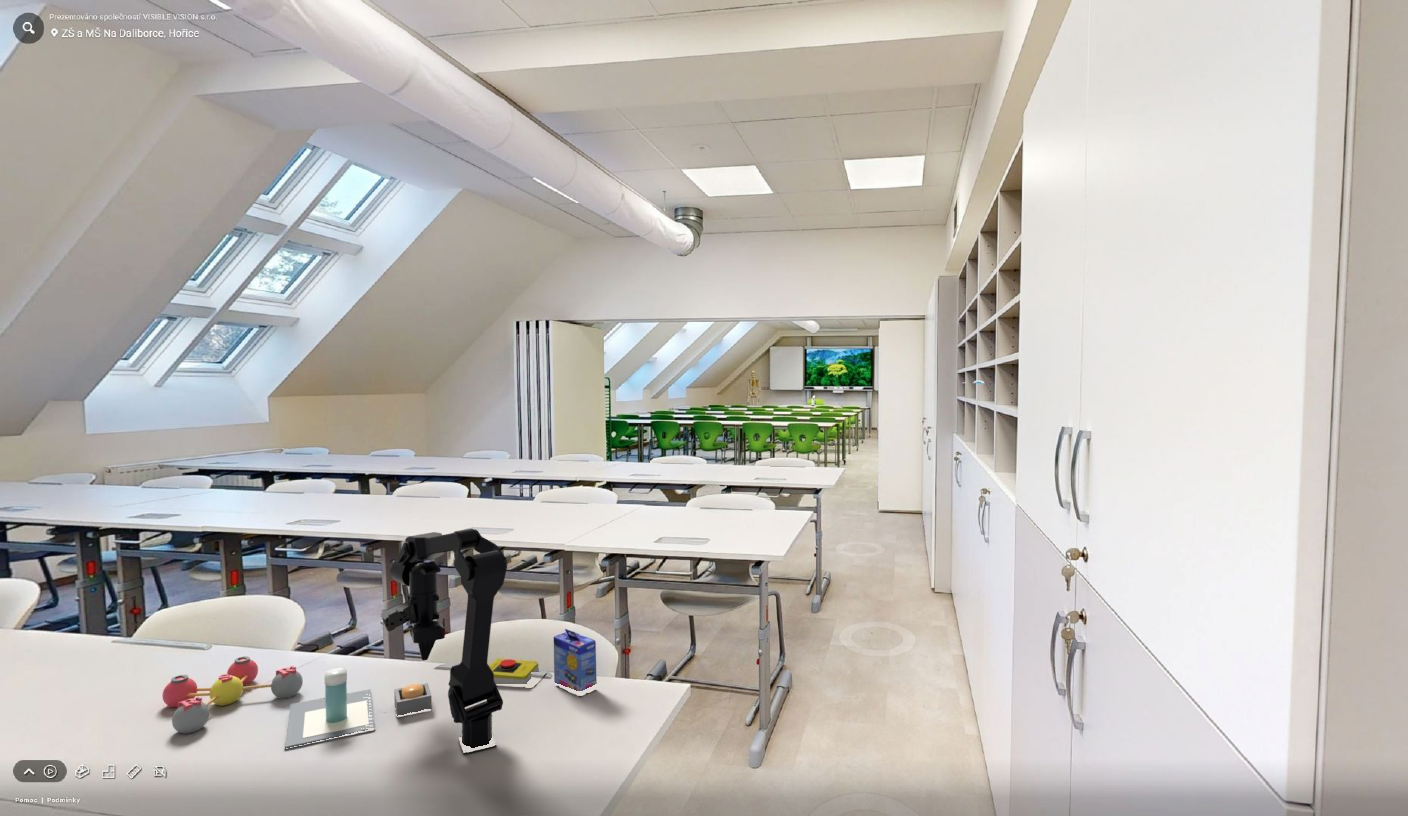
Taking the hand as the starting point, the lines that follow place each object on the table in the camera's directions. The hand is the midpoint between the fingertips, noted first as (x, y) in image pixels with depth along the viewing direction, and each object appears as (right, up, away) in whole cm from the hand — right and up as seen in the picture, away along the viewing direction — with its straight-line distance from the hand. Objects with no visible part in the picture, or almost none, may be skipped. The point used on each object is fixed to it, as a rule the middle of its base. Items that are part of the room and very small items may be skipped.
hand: (424, 659), depth 152 cm
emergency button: (+15, -11, +16) cm, 25 cm away
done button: (-3, -10, +1) cm, 10 cm away
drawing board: (-18, -11, -4) cm, 22 cm away
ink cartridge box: (+31, -11, +11) cm, 35 cm away
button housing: (-3, -11, +1) cm, 11 cm away
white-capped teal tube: (-16, -10, -6) cm, 20 cm away
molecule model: (-46, -11, +2) cm, 47 cm away
